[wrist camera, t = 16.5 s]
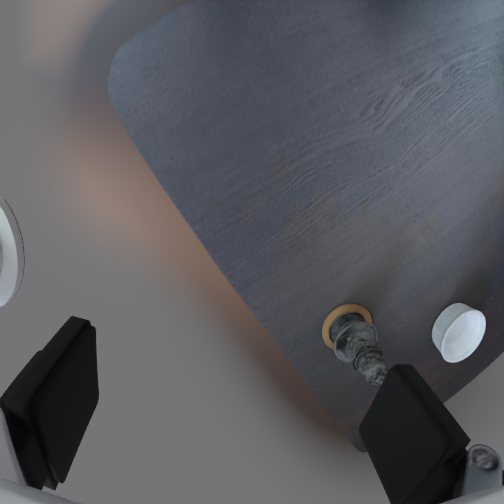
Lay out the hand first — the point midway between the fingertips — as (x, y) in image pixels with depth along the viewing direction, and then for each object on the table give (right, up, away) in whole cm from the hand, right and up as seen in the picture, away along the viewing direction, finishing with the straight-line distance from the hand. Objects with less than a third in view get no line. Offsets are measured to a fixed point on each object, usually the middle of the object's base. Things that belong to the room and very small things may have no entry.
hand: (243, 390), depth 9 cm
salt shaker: (+13, -6, +32) cm, 35 cm away
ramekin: (+31, -7, +34) cm, 47 cm away
